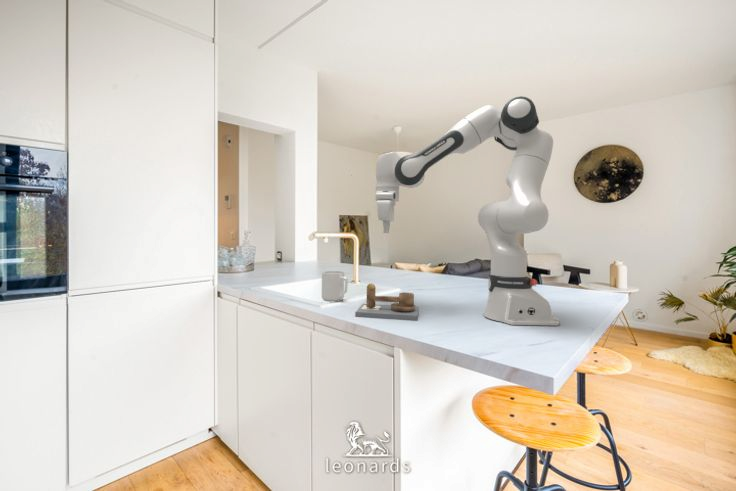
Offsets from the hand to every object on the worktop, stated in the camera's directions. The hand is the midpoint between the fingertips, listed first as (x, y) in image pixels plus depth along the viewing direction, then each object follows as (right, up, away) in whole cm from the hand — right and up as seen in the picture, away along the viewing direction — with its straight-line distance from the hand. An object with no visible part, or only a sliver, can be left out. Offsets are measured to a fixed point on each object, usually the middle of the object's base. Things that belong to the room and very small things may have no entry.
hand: (386, 233), depth 131 cm
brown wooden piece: (+1, -26, -14) cm, 29 cm away
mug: (-20, -27, +7) cm, 34 cm away
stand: (0, -28, -13) cm, 31 cm away
